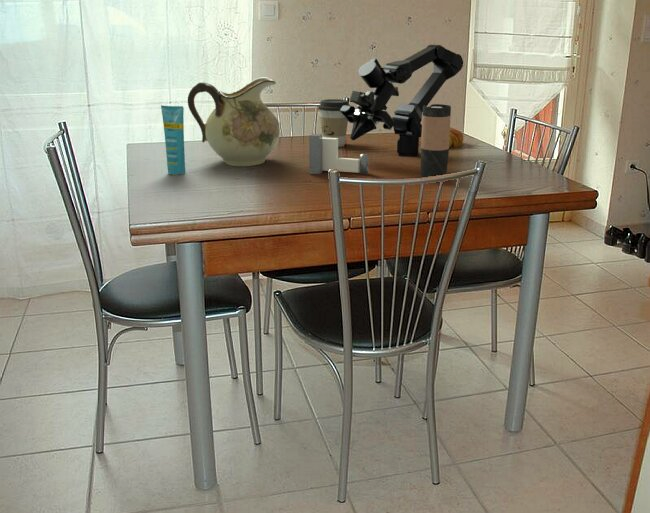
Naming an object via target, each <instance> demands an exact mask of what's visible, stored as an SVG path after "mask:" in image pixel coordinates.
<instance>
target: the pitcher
mask: <svg viewBox="0 0 650 513" xmlns="http://www.w3.org/2000/svg"><path fill="white" fill-rule="evenodd" d="M276 84H277V83H276V81H275V80H274V79H272V78H270V77H267V76H264V77H263V76H262V77H258V78H255V79H253V80H251V82H249V83H247V84H246V85H245V86H243V87H242V88H239V89H238V90H236V91H234V92H231V93H227V92H223V91H222V90H218V88H216V87H215V86H214V85H213V84H210V83H207V82H205V81H199V82H198V83H197V84H195V85H194V86H193V87H192V88H191V89H190V91H189V93H188V95H187V106H188V109H189V112H190V113H191V115H192V116H193V118H194V119H195V121H196V123H197V124H198V127H199V128H200V132H201V135H202V138H201V139H202V140H201V142H202V143H205V142H208V145H209V147H211V150H213V152H214V153H215V154H217V155H218V156H219V157H220V158H221V159H222V160H223V163H224V164H225V165H228V166H232V167H254V166H260V165H262V164H265V161H266V158H267V157H268V155H270V153H272V151H273V150H274V149H275V147H276V145H277V143H278V142H279V139H280V134H281V128H280V122H279V120H278V118H277V117H276V115H275V113H273V111H272V110H271V109H270V108H269V107H268V106H267V105H266V104H265V103H264V102H263V100H262V99H261V93H262V92H263V91H264V89H267V88H268V87H270V86H274V85H276ZM205 92H206V93H207V94H209V95H210V96H211V98H212V100H213V101H214V104H215V108H214V109H213V110H212V111H211V113H210V114H209V115H208V117H207V119H206V122H204V121H203V119H202V117H201V116H200V114H199V112H198V110H197V108H196V105H195V98H196V96H197V95H198V94H199V93H205Z"/></svg>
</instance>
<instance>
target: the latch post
mask: <svg viewBox="0 0 650 513" xmlns="http://www.w3.org/2000/svg"><path fill="white" fill-rule="evenodd" d="M308 143H309V144H308V145H309V146H308V147H309V150H308V152H309V153H308V154H309V155H308V156H309V157H308V158H309V160H308V161H309V163H308V164H309V166H308V167H309V169H308V170H309V174H310V175H321V174H322V173H323V170H322V133H311V134H309V138H308Z"/></svg>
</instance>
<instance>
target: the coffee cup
mask: <svg viewBox="0 0 650 513" xmlns="http://www.w3.org/2000/svg"><path fill="white" fill-rule="evenodd" d="M343 105H349V106H352V105H351V104H349V100H346V99H341V98H340V99H337V98H334V99H333V98H329V99H322V100H320V103H319V104H318V105H317V110H318V112H319V113H318V114H319V120H320V129H321V134H322V137H325V138H338V148H342V147H344V146H345V144H346V138H347V132H348V124H349V122H348V121H347V119H346V118H345V117H344V116H343V115H342V113H341V112H340V109H341V108H342V106H343Z"/></svg>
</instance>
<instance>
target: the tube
mask: <svg viewBox="0 0 650 513" xmlns="http://www.w3.org/2000/svg"><path fill="white" fill-rule="evenodd" d="M160 109H161V115H162V117H161V118H162V123H163V124H162V125H163V132H164V142H165V144H164V145H165V152H166V153H165V154H166V164H167V174H169V175H171V174H172V175H171V176H179V175H178V174H181V175H184V174H185V173H186V161H185V160H186V158H185V156H186V154H185V130H184V129H185V127H184V111H185V110H184V106H183V105H181V106H179V105H162V104H161V105H160Z"/></svg>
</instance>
